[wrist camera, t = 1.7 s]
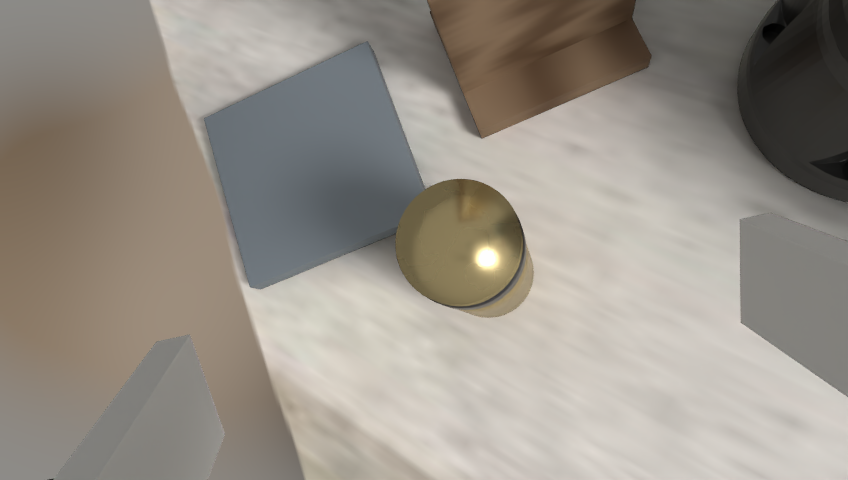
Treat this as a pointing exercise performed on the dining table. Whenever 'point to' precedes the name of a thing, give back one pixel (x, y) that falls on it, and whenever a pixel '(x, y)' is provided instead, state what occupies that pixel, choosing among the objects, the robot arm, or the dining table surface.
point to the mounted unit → (535, 52)
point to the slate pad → (313, 166)
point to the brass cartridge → (465, 248)
